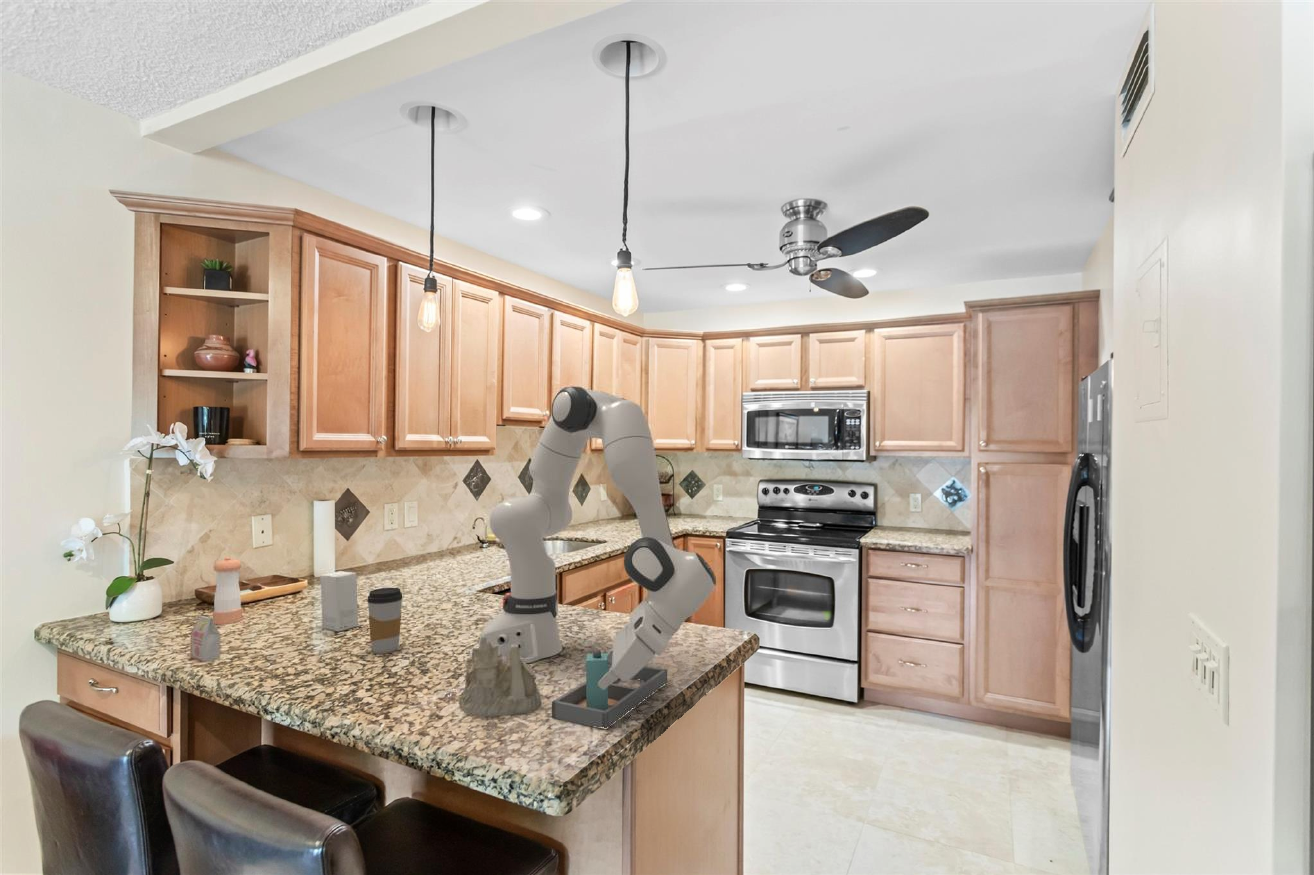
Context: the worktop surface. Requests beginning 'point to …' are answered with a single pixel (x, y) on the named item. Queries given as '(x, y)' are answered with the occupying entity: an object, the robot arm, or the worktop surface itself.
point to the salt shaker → (227, 592)
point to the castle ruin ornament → (498, 683)
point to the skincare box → (339, 601)
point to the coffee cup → (384, 619)
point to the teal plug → (596, 680)
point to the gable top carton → (205, 640)
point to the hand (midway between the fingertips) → (601, 677)
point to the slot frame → (618, 700)
